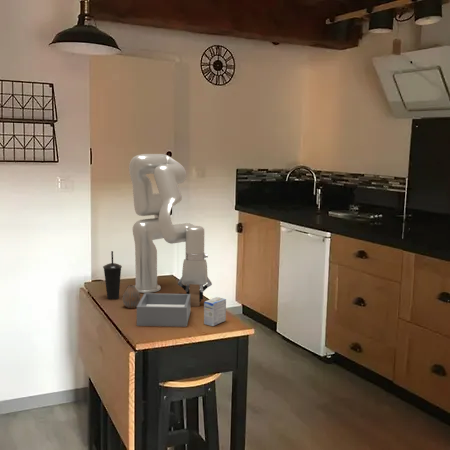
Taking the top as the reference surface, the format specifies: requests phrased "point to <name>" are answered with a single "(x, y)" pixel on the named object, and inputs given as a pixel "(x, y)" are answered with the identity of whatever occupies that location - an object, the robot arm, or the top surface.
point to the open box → (164, 310)
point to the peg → (194, 294)
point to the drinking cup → (112, 279)
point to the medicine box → (214, 311)
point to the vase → (131, 297)
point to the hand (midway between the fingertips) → (194, 300)
